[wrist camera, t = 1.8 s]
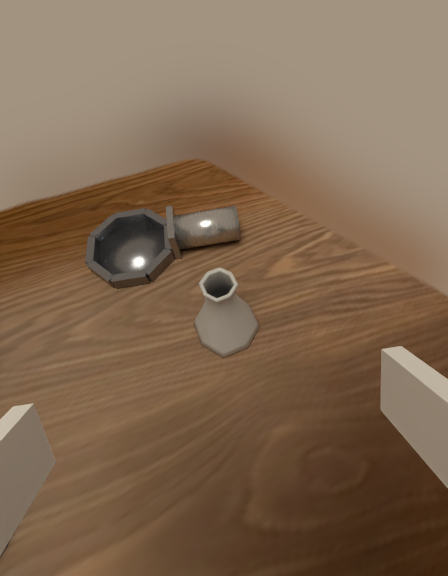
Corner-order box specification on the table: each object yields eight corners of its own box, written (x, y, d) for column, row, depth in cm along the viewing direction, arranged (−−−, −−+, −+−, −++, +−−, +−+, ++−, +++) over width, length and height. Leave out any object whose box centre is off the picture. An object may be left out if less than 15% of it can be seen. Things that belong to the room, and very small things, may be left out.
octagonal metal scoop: (231, 203, 42) (229, 179, 38) (245, 268, 37) (244, 247, 33) (96, 225, 42) (80, 203, 38) (89, 293, 37) (70, 275, 33)
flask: (183, 323, 34) (160, 281, 25) (229, 286, 36) (223, 235, 27) (222, 370, 31) (212, 341, 22) (271, 327, 33) (279, 285, 24)
